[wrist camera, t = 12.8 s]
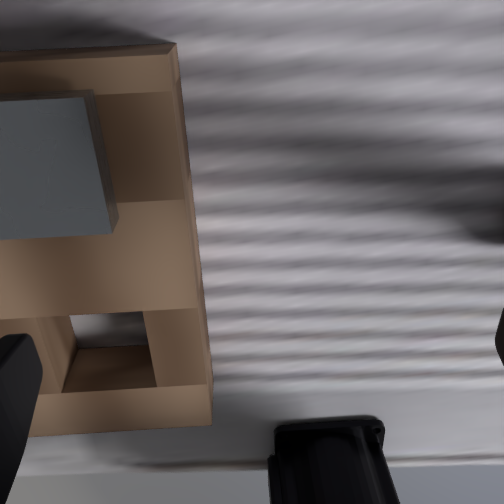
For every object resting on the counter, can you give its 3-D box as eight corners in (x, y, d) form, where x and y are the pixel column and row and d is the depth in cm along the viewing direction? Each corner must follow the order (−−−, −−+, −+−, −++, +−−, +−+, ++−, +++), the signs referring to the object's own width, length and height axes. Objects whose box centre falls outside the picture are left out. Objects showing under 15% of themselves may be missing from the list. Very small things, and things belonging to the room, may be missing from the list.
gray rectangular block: (116, 70, 17) (83, 97, 13) (135, 182, 20) (112, 233, 16) (-5, 76, 17) (-74, 105, 13) (28, 187, 20) (-22, 241, 16)
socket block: (176, 43, 17) (167, 54, 15) (213, 380, 26) (212, 425, 23) (-73, 54, 17) (-126, 68, 14) (47, 390, 26) (27, 437, 23)
